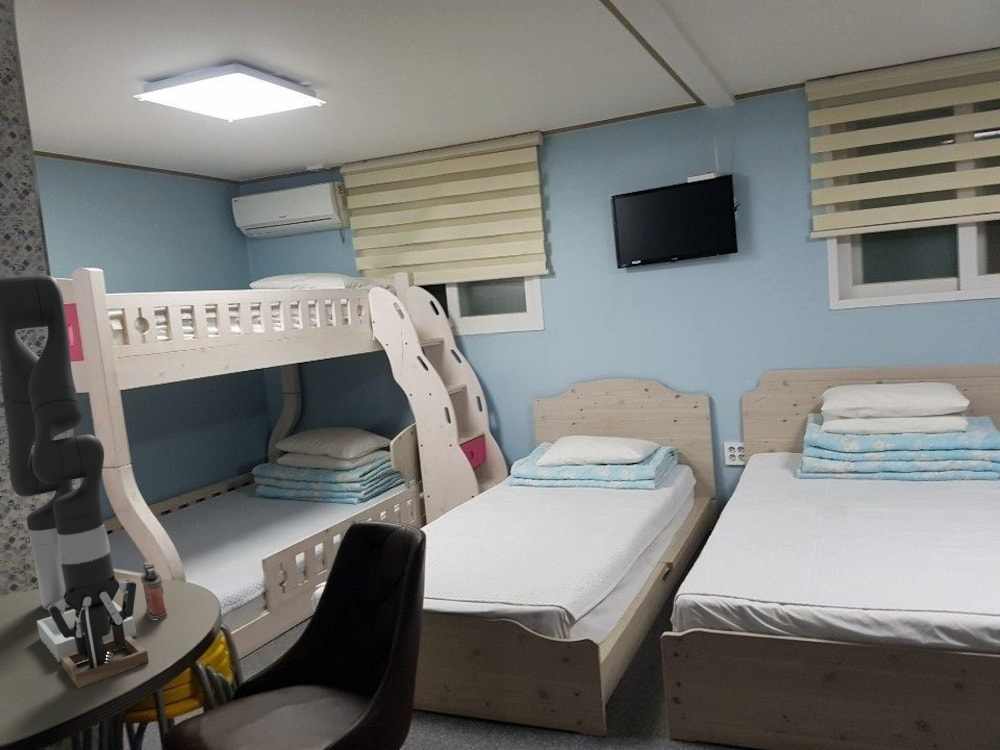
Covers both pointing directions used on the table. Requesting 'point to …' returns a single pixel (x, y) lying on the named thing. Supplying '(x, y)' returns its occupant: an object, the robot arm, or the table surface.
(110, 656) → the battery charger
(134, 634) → the bin
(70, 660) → the brown flat square frame
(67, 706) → the table surface
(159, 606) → the lighter
